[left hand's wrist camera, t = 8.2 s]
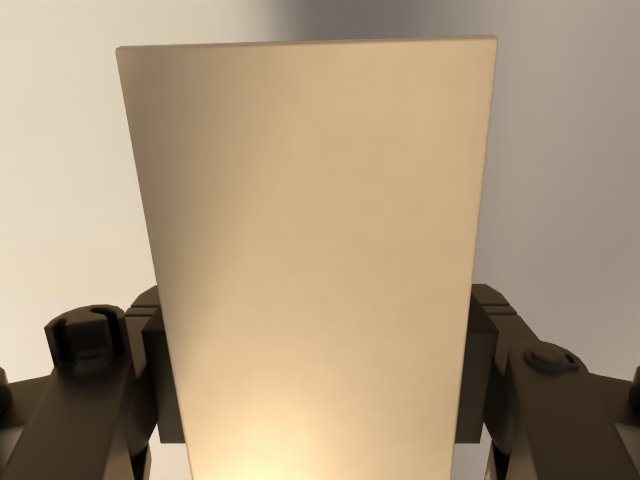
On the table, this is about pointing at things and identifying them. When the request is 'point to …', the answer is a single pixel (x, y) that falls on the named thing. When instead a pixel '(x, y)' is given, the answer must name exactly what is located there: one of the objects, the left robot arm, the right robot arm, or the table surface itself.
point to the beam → (314, 245)
